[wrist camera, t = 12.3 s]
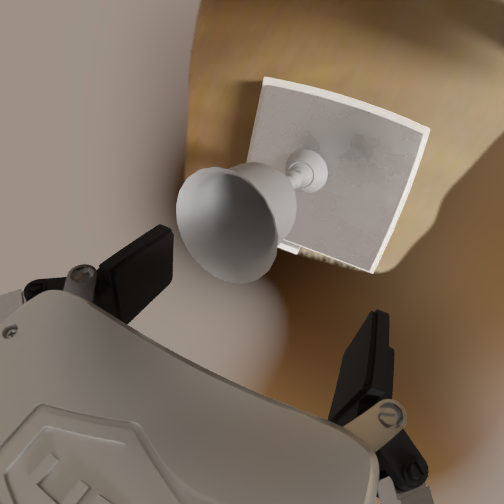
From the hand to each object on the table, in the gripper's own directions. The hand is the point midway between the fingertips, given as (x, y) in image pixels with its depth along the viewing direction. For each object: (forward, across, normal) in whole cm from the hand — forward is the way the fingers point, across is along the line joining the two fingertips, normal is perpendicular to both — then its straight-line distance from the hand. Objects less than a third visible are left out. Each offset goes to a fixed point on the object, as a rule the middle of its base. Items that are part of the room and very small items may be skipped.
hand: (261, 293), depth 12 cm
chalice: (+22, +3, 0) cm, 22 cm away
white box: (+28, +1, +2) cm, 28 cm away
